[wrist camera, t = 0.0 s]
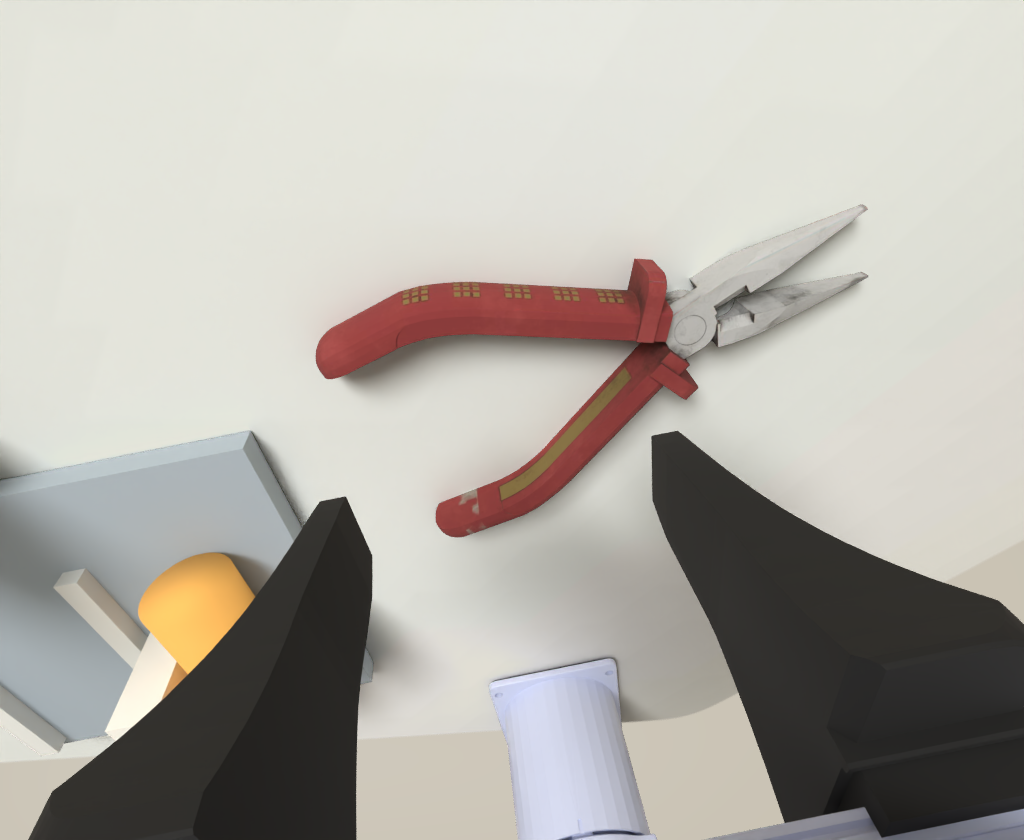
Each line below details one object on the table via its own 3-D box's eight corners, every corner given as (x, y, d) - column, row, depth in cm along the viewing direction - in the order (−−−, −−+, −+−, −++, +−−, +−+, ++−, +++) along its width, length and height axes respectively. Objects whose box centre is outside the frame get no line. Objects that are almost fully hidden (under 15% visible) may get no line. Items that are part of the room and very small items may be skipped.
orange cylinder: (328, 679, 32) (318, 750, 29) (261, 693, 32) (243, 765, 29) (244, 545, 25) (218, 618, 22) (159, 561, 25) (121, 637, 22)
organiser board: (373, 662, 33) (370, 695, 32) (50, 727, 33) (30, 763, 31) (250, 430, 23) (237, 461, 22) (-210, 521, 23) (-259, 559, 22)
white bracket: (348, 629, 29) (335, 726, 25) (182, 663, 29) (143, 764, 25) (328, 593, 28) (311, 690, 24) (151, 628, 27) (104, 731, 23)
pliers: (855, 350, 25) (894, 380, 23) (447, 517, 28) (448, 557, 26) (832, 73, 19) (883, 79, 17) (308, 325, 22) (294, 357, 20)
